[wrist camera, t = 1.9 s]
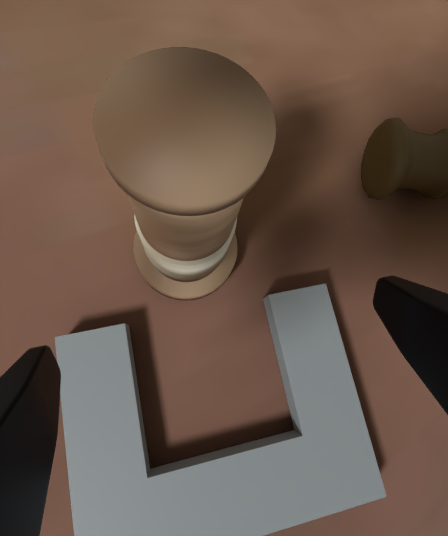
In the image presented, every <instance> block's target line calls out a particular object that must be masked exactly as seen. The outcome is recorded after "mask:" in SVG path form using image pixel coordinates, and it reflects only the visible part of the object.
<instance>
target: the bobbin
mask: <svg viewBox="0 0 448 536" xmlns="http://www.w3.org/2000/svg"><path fill="white" fill-rule="evenodd" d="M93 127H94V134H95V139H96V142H97V145H98V148H99V150H100V153H101V155H102V158H103V160H104V162H105V165H106V167H107V169H108V171H109V172H110V174H111V176H112V177H113V179H114V180H115V181H116V183H117V184H118V185H119V186H120V187H121V188H122V189H123V190H124V191H125V192H126V193H127V195H128V198H129V200H130V203H131V206H132V209H133V211H134V214H135V216H134V217H135V225H136V229H137V231H136V234H135V238H134V245H133V250H134V257H135V261H136V264H137V267H138V269H139V271H140V272H141V274H142V276H143V278H144V279H145V280H146V282H147V283H148V284H149V285H150V286H151V287H152V288H153V289H154V290H156V291H157V292H159V293H160V294H162V295H164V296H167V297H169V298H173V299H177V300H194V299H199V298H202V297H205V296H207V295H209V294H211V293H213V292H214V291H216V290H217V289H218V288H219V287H220V286H221V285H222V284H223V283H224V282H225V281H226V280H227V278H228V276H229V275H230V273H231V271H232V269H233V267H234V264H235V261H236V258H237V239H236V235H235V229H236V223H237V215H238V213H239V210H240V207H241V205H242V202H243V200H244V197H245V196H246V195H248V194H249V193H250V192H251V191H252V190H253V188H254V187H255V186H256V185H257V183H258V182H259V180H260V179H261V177H262V175H263V173H264V171H265V168H266V166H267V164H268V161H269V159H270V157H271V154H272V152H273V148H274V144H275V138H276V121H275V116H274V112H273V109H272V106H271V103H270V101H269V99H268V97H267V95H266V93H265V92H264V90H263V89H262V87H261V86H260V84H259V83H258V82H257V81H256V80H255V79H254V78H253V76H251V75H250V74H249V73H248V72H247V71H246V70H245V69H243V68H242V67H241V66H239V65H238V64H236V63H235V62H233V61H231V60H229V59H227V58H225V57H223V56H221V55H218V54H216V53H213V52H209V51H206V50H201V49H196V48H187V47H171V48H162V49H158V50H153V51H150V52H147V53H144V54H141V55H139V56H137V57H135V58H133V59H131V60H129V61H128V62H126V63H125V64H123V65H122V66H121V67H120V68H118V69H117V70H116V71H115V72H114V73H113V74H112V75H111V76H110V77H109V79H108V80H107V81H106V83H105V84H104V86H103V87H102V89H101V91H100V93H99V95H98V98H97V100H96V104H95V108H94V116H93Z"/></svg>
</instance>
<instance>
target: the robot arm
mask: <svg viewBox="0 0 448 536" xmlns="http://www.w3.org/2000/svg"><path fill="white" fill-rule="evenodd" d="M373 306H374V309H375V311H376V312H377V314H378V316H379V317H380V319H381V321H382V322H383V324H384V326H385V327H386V329H387V331H388V332H389V334H390V336H391V337H392V339H393V340H394V342H395V344H396V345H397V347H398V349H399V350H400V352H401V353H402V354H403V356H404V357H405V359H406V360H407V361H408V363H409V364H410V365H411V367H412V368H413V369H414V371H415V372H416V373H417V375H418V376H419V377H420V379H421V380H422V381H423V383H424V384H425V385H426V387H427V388H428V389H429V391H430V392H431V393H432V395H433V396H434V397H435V399H436V400H437V401H438V403H439V404H440V405H441V407H442V408H443V409H444V411H445V412H446V413H447V415H448V294H447V293H444V292H441V291H438V290H435V289H432V288H429V287H426V286H423V285H420V284H417V283H414V282H411V281H408V280H405V279H402V278H399V277H396V276H387V277H382V278H380V279H378V281H377V283H376V288H375V293H374V298H373ZM60 387H61V371H60V368H59V365H58V363H57V361H56V359H55V357H54V355H53V353H52V351H51V349H50V347H49V346H46V345H44V346H39V347H34V348H31V349H29V350H28V351H26V352H25V353H24V354H23V355H22V356H21V357H20V358H19V359H18V360H17V361H16V362H15V363H14V364H13V365H12V366H11V367H10V368H9V369H8V370H7V371H6V372H5V373H4V374H3V375H2V376H1V377H0V536H39V535H40V530H41V524H42V519H43V513H44V508H45V502H46V497H47V491H48V486H49V480H50V474H51V469H52V463H53V458H54V452H55V447H56V440H57V433H58V420H59V403H60Z"/></svg>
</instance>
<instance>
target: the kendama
mask: <svg viewBox="0 0 448 536" xmlns="http://www.w3.org/2000/svg"><path fill="white" fill-rule="evenodd" d="M361 180H362V185H363V188H364V190H365V192H366V193H367V195H368V197H370V198H374V199H381V198H383V197H385V196H387V195H389V194H391V193H392V192H393V191H394V190H395V189H414V190H417V191H418V192H420V193H421V195H422V196H424V197H427V198H431V199H436V198H438V197H441V196H444V195H445V194H447V193H448V129H442V130H440V131H438V132H437V133H436V134H434V135H426V134H420V133H417V132H414V131H411V130H409V129H408V128H407V127H406V125H405V124H404V123H403V122H402V121H401V120H400V119H399V118H392V119H387V120H385V121H384V122H383V123H382V124H381V125H379V126H378V127H377V128H376V129H375V130H374V132H373V133H372V135H371V136H370V138H369V140H368V142H367V145H366V148H365V150H364V154H363V159H362V164H361Z"/></svg>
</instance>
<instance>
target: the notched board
mask: <svg viewBox="0 0 448 536" xmlns="http://www.w3.org/2000/svg"><path fill="white" fill-rule="evenodd" d="M263 302H264V306H265V310H266V314H267V318H268V322H269V327H270V331H271V335H272V339H273V343H274V347H275V352H276V356H277V360H278V364H279V368H280V372H281V377H282V381H283V385H284V389H285V393H286V397H287V402H288V406H289V410H290V414H291V418H292V422H293V427H294V430H292V431H288V432H285V433H281V434H277V435H274V436H270V437H266V438H262V439H259V440H255V441H251V442H247V443H244V444H240V445H236V446H232V447H229V448H225V449H221V450H218V451H214V452H210V453H206V454H203V455H199V456H195V457H191V458H188V459H184V460H180V461H177V462H173V463H169V464H165V465H162V466H158V467H154V468H150V464H149V457H148V450H147V443H146V437H145V430H144V423H143V416H142V409H141V403H140V396H139V389H138V382H137V376H136V369H135V362H134V355H133V349H132V342H131V335H130V328H129V325H127V324H125V323H124V324H119V325H114V326H109V327H104V328H99V329H94V330H89V331H83V332H78V333H73V334H68V335H63V336H58V337H55V344H56V354H57V363H58V365H59V368H60V371H61V387H60V395H61V405H62V415H63V425H64V436H65V446H66V456H67V466H68V477H69V487H70V497H71V507H72V517H73V528H74V536H264V535H267V534H270V533H273V532H276V531H280V530H283V529H286V528H289V527H292V526H295V525H299V524H302V523H305V522H308V521H311V520H314V519H318V518H321V517H324V516H327V515H330V514H333V513H337V512H340V511H343V510H346V509H349V508H352V507H356V506H359V505H362V504H365V503H368V502H371V501H375V500H378V499H381V498H384V497H387V496H386V493H385V489H384V486H383V482H382V479H381V475H380V472H379V468H378V465H377V461H376V457H375V454H374V450H373V447H372V443H371V440H370V436H369V433H368V429H367V426H366V422H365V419H364V415H363V412H362V408H361V405H360V401H359V398H358V394H357V391H356V387H355V384H354V380H353V377H352V373H351V370H350V366H349V363H348V359H347V356H346V352H345V349H344V345H343V342H342V338H341V335H340V331H339V328H338V324H337V321H336V317H335V314H334V310H333V307H332V303H331V300H330V296H329V293H328V289H327V286H326V283H325V284H320V285H315V286H310V287H305V288H300V289H295V290H290V291H285V292H280V293H275V294H270V295H267V296H266V297H265V298H263Z"/></svg>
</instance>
